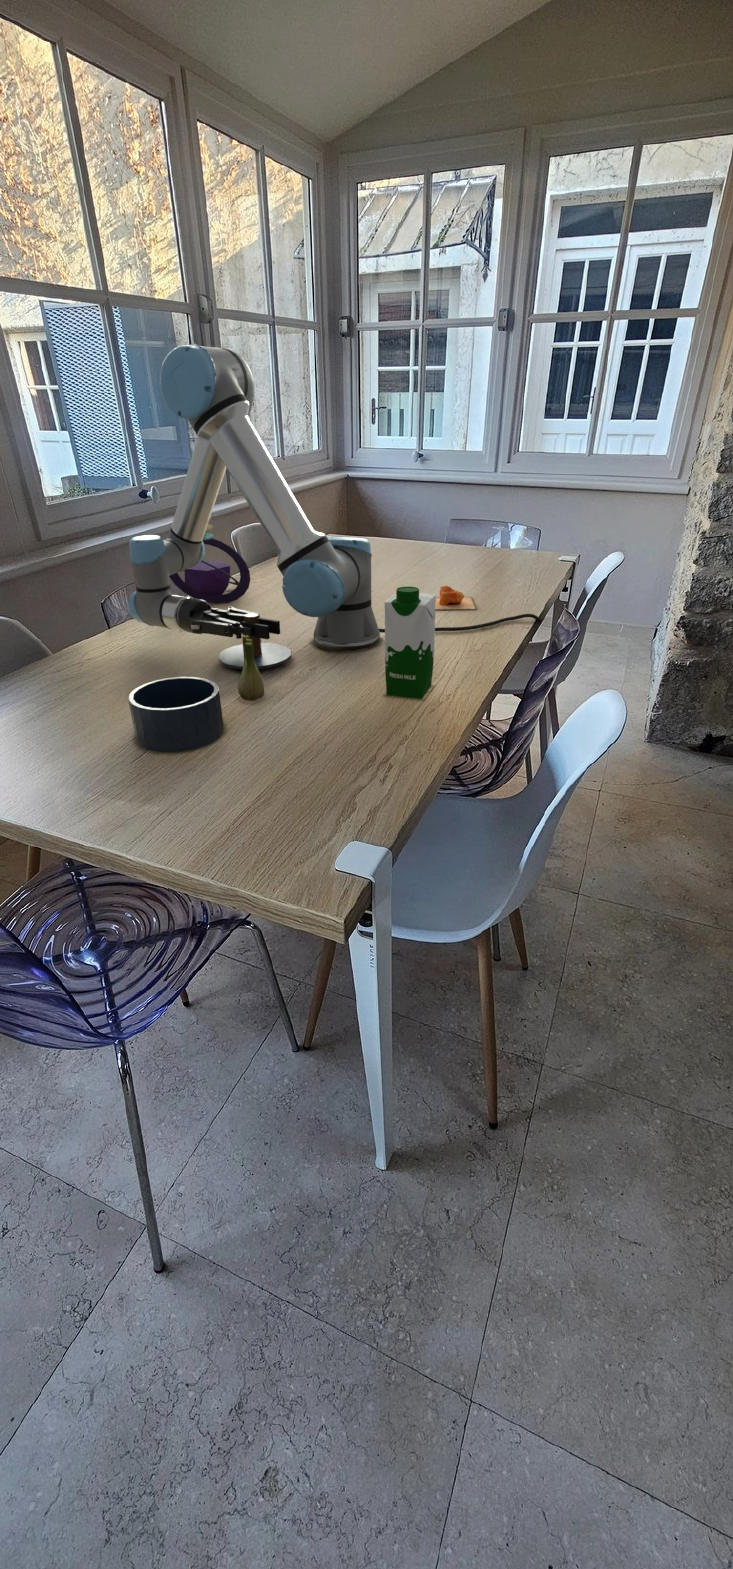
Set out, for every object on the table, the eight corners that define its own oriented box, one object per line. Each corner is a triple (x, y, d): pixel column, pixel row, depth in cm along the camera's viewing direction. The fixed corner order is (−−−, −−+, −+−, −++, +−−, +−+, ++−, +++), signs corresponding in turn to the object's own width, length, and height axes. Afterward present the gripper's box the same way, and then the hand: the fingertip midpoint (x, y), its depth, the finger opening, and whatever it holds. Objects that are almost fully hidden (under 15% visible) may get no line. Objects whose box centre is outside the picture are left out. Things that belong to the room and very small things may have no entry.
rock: (475, 609, 183) (476, 593, 181) (429, 610, 183) (429, 593, 181) (470, 597, 193) (471, 582, 191) (426, 598, 194) (426, 582, 192)
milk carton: (380, 696, 132) (379, 590, 122) (394, 680, 140) (395, 579, 130) (425, 702, 130) (428, 594, 120) (437, 685, 137) (441, 582, 127)
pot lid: (274, 643, 160) (271, 601, 155) (303, 663, 148) (301, 618, 143) (208, 655, 153) (203, 611, 148) (233, 677, 141) (228, 630, 136)
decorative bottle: (178, 610, 187) (163, 511, 174) (165, 592, 203) (150, 501, 191) (259, 600, 194) (250, 504, 182) (240, 584, 211) (231, 495, 199)
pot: (208, 709, 128) (202, 671, 124) (236, 739, 117) (231, 698, 113) (127, 727, 122) (119, 687, 118) (149, 760, 111) (140, 717, 107)
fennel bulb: (259, 705, 129) (253, 643, 124) (234, 703, 130) (227, 641, 124) (269, 693, 134) (263, 633, 128) (245, 692, 135) (238, 631, 129)
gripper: (214, 622, 163) (297, 637, 152) (164, 641, 150) (250, 659, 140) (210, 589, 159) (295, 602, 148) (159, 606, 147) (247, 622, 136)
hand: (273, 630), depth 144 cm, fingers closed on pot lid, 3 cm apart
